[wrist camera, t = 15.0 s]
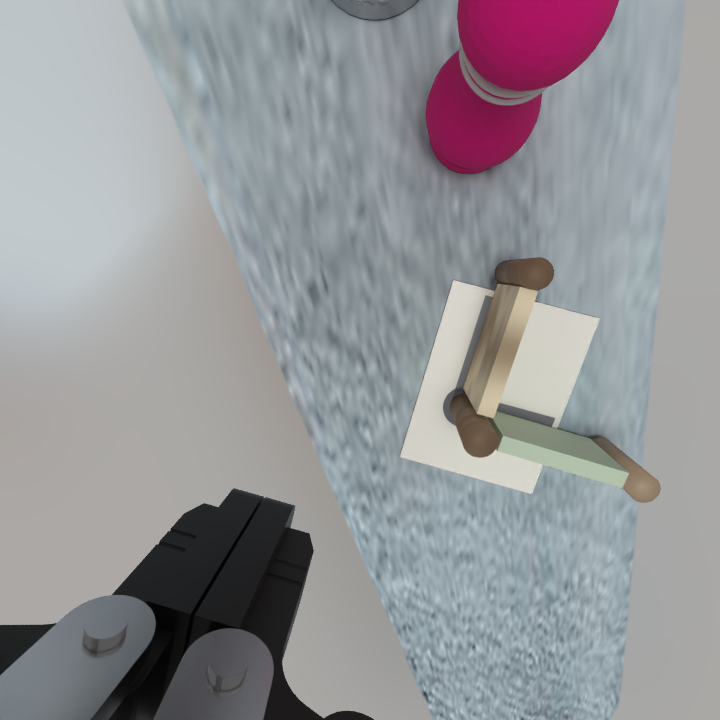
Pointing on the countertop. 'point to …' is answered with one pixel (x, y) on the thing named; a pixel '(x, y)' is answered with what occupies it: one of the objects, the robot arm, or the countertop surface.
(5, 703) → the robot arm
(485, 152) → the pepper mill
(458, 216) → the countertop surface
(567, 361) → the card
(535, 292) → the fence fixed
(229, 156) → the countertop surface
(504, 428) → the fence gate
